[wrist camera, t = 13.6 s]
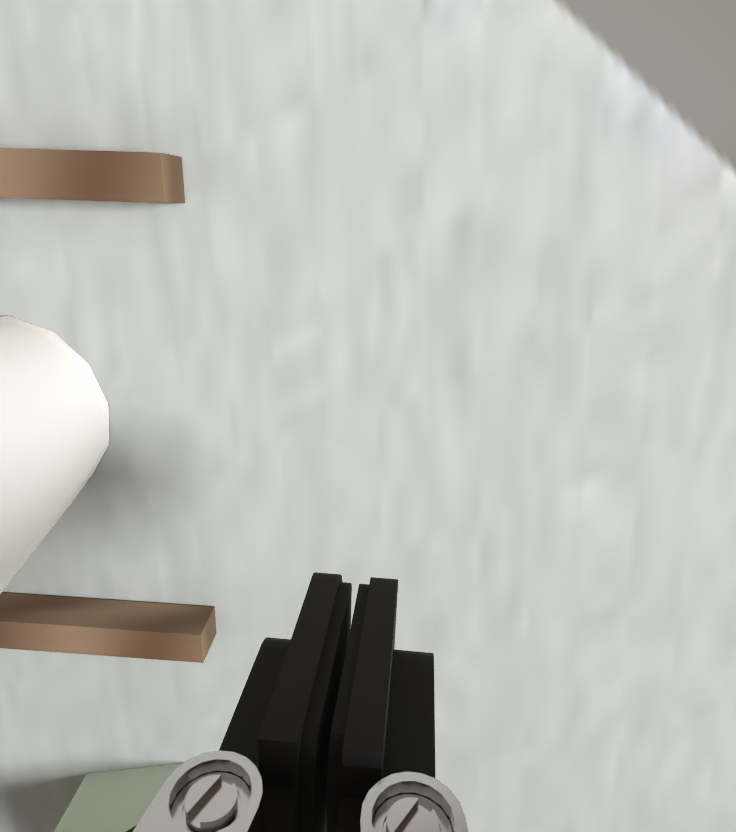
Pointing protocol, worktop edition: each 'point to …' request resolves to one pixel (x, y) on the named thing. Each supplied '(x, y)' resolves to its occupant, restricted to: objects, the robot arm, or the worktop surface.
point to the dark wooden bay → (84, 617)
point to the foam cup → (43, 436)
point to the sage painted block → (114, 799)
